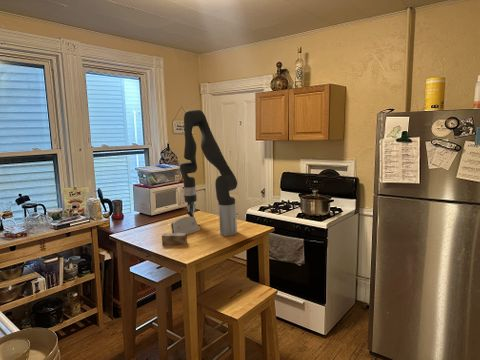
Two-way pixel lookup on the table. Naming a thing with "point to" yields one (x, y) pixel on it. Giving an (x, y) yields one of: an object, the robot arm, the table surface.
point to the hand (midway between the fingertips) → (192, 220)
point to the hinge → (185, 225)
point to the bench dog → (174, 239)
